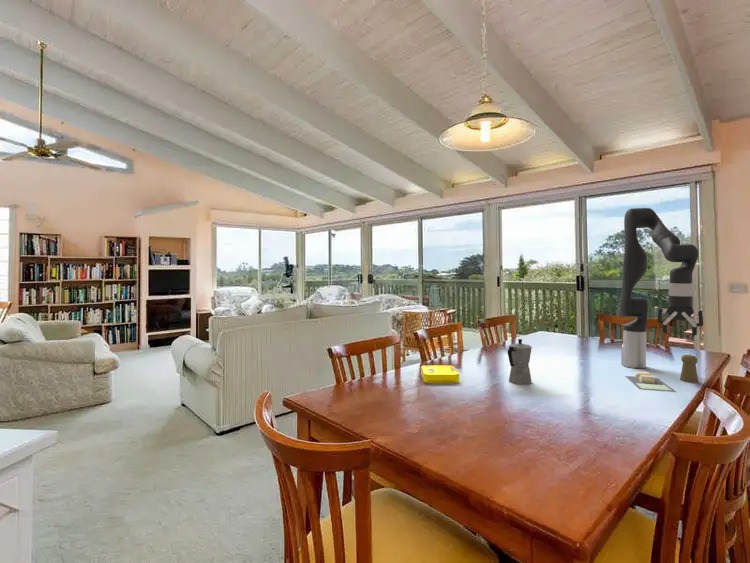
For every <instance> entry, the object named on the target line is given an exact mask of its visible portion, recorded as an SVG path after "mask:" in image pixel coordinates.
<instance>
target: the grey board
mask: <svg viewBox="0 0 750 563" xmlns="http://www.w3.org/2000/svg"><path fill="white" fill-rule="evenodd" d="M625 378H627V379H628V381H629V382H630V383H632V384H633V385H634V386H635V387H637V389H638V390H641V391H642V390H643V391H654V392H655V391H657V392H669V393H670V392H671V393H677V391H676V390H675V389H674V388H672V387H671V386H669V385H668V384H666V383H665V382H663V381H662V380H661V379H659V377H655V383H645V382H641V381H640V380H638V379H637V378H636V376H635V375H634V376H633V375H625Z"/></svg>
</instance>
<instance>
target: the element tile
mask: <svg viewBox="0 0 750 563" xmlns="http://www.w3.org/2000/svg"><path fill="white" fill-rule="evenodd" d="M420 373H421V374H420V375H422V376H421V378H423V379H422V381H423V383H424V382H426V383H425V384H458V383H457V382H459V383H460V373H459V371H458V370H457V368H456V367H455V366H454V365H450V364H449V365H422V366H421V367H420Z"/></svg>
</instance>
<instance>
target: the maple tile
mask: <svg viewBox="0 0 750 563" xmlns="http://www.w3.org/2000/svg"><path fill="white" fill-rule="evenodd" d="M635 377H636V378H637V379H638V380H640V381H641V382H645V383H655V378H656V377H655V376H654V375H653V374H651V373H650V372H648V371H635Z"/></svg>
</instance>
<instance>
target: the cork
mask: <svg viewBox="0 0 750 563" xmlns="http://www.w3.org/2000/svg"><path fill="white" fill-rule="evenodd" d="M680 358H681V362H682V366H681V372H680V378H679V380H680V381H681V382H684V383H688V384H689V383H691V384H697V383H699V377H698V370H697V365H696V364H697V363H698V358H697V356H695V355H692V354H683V355H682V356H681V357H680Z"/></svg>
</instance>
